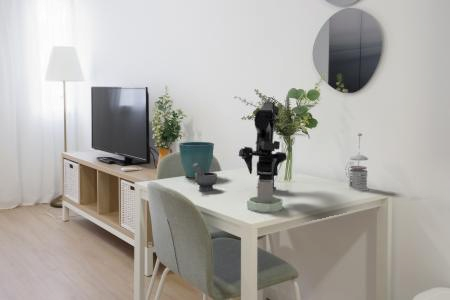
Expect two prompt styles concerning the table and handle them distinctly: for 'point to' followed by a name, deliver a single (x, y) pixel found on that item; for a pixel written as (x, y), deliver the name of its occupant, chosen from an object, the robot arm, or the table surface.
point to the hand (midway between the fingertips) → (261, 175)
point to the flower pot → (196, 156)
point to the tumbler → (265, 192)
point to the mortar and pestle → (204, 178)
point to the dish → (264, 205)
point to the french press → (357, 173)
